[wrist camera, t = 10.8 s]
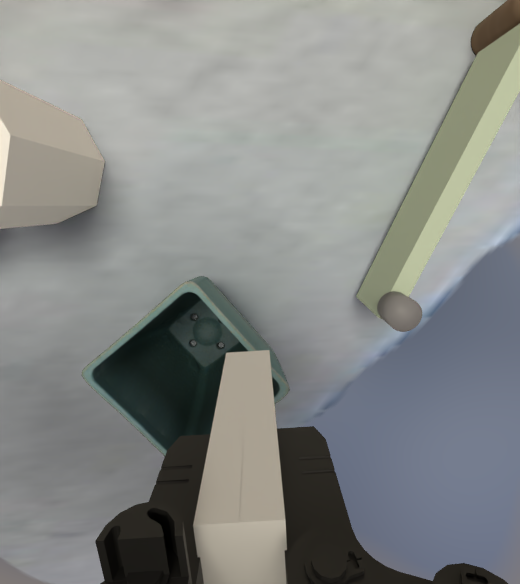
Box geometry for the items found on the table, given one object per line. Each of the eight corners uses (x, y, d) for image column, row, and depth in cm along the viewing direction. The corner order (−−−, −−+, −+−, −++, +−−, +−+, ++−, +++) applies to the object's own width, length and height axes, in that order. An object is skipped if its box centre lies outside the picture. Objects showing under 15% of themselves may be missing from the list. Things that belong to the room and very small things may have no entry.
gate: (472, 50, 23) (560, -14, 16) (498, 63, 23) (596, 5, 16) (351, 294, 27) (381, 324, 20) (374, 304, 27) (411, 336, 20)
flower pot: (212, 253, 27) (189, 277, 18) (283, 334, 28) (294, 391, 20) (132, 322, 28) (76, 375, 19) (205, 396, 30) (182, 474, 21)
